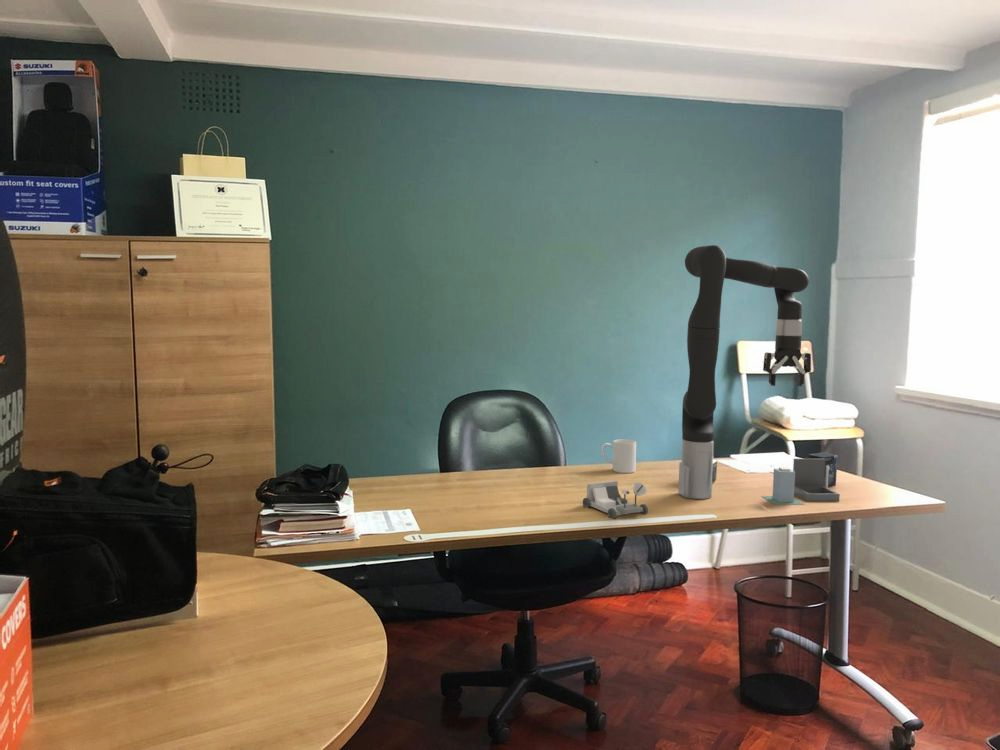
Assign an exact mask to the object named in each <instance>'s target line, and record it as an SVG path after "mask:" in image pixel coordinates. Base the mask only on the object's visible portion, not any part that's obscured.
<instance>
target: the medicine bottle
mask: <svg viewBox="0 0 1000 750" xmlns="http://www.w3.org/2000/svg"><path fill="white" fill-rule="evenodd" d="M714 453H715V448H714V447H713V457H714V455H715V454H714ZM717 467H718V460H717V459H713V470H712V485H713V484H714V483H715V482H716V481H717V470H718V468H717Z"/></svg>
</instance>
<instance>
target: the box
mask: <svg viewBox="0 0 1000 750" xmlns="http://www.w3.org/2000/svg"><path fill="white" fill-rule="evenodd" d="M808 459H825V474H824V487H825V476H826V466H829V473H828V488H830V487H835V486H837V474H838V473H837V472H838V454H833V453H829V452H824V451H822V452H818V453H817V452H816V453H809V454H808Z"/></svg>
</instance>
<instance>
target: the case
mask: <svg viewBox="0 0 1000 750" xmlns="http://www.w3.org/2000/svg"><path fill="white" fill-rule="evenodd" d="M792 466H793V467H792V471H794V472H795V486H794V495H796V496H798V497H800V498H801V499H803V500H805V501H807V502H840V497H841V496H840V493H838V492H836V491H834V490H832V489H830V488H829V487H828V473H829V466H826V476H825V487H824V474H825V459H809V458H793V465H792Z"/></svg>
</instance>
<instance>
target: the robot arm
mask: <svg viewBox="0 0 1000 750" xmlns="http://www.w3.org/2000/svg"><path fill="white" fill-rule="evenodd" d="M684 264H685V265H684V266H685V270H686V271H687V272H688V273H689V274H690V275H691V276H692V277H695V278H696V277H697V278H699V290H698V291H699V292H698V295H697V299H696V302H695V304H694V306H693V308H692V309H691V310H692V311H691V312H690V315H689V318H688V321H687V338H686V345H687V358H688V366H689V367H688V368H689V377H688V385H687V390H686V392H685V393H684V395H683V398H682V412H681V413H682V414H681V415H682V417H681V421H682V422H681V429H682V430H681V431H682V434H681V435H682V436H681V437H682V438H681V440H682V441H681V461H680V462H679V465H678V494H679V495H681V497H682V498H687V499H696V500H706V499H710V498H712V494H713V493H712V492H713V488H712V487H713V484H712V470H713V460H714V456H713V448H714V447H715V446H714V445H715V442H714V439H715V431H714V430H715V429H714V412H715V411H716V409H717V408H716V407H717V397H716V367H717V360H718V354H719V353H718V352H719V344H720V331H721V311H722V308H721V307H722V295H723V287H724V282H725V279H728V280H731V281H736V282H742V283H744V284H745V283H746V284H750V285H753V286H758V287H761V288H762V287H763V288H773V289H774V294H775V295H774V296H775V298H776V303H777V316H776V317H777V321H776V327H775V342H774V343H775V346H774V347H775V348H774V349H775V351H774V353H773V352H767V351H766V352H765V353H764V356H763V357H764V359H763V366H762V367H763V368H762V371H763V372H766V373H768V383H769V386H771V387H775V386H776V381H777V379H776V375H777V374H776V373H777V371H778V370H779V369H781V368H782V367H784V368H785V367H786V368H787V367H790V368H791V367H793V368H794V369H795V370H796V371H797V374H796V375H797V377H796V386H797V387H802V386H803V385H804V383H805V374H808V373H810V372H811V371H812V355H811V353H810V352H804V353H802V352H801V349H802V337H803V336H802V332H803V325H802V324H803V323H802V318H803V317H802V315H803V304H802V303H801V301H799V300H797V299H796V298H795V295H794V294H795V293H800V292H803V291H805V289H807V287H808V286H809V283H810V279H809V275H808V274H807V273H806V271H804V270H802V269H799V268H795V267H787V266H786V267H785V266H777V265H774V264H769V263H766V262H761V261H754V260H748V259H738V258H729V257H726V253H725V251H724V249H723V248H722V247H721V246H719V245H714V244H713V245H712V244H711V245H704V246H696V247H694V248H692V249H691V250H690V251H688V253H687V254H686V256H685V259H684ZM773 359H775V361H774V362H773V363H772V362H771V361H772V360H773ZM801 359H802V360H803V366H802V364H801V362H800V361H801ZM771 363H772V365H771Z"/></svg>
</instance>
